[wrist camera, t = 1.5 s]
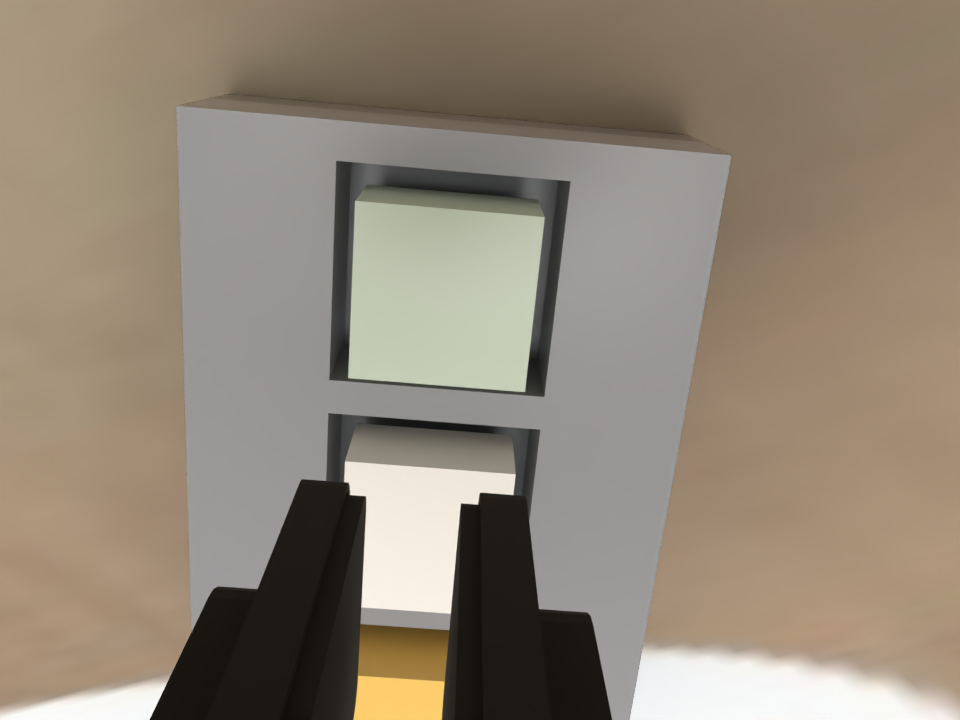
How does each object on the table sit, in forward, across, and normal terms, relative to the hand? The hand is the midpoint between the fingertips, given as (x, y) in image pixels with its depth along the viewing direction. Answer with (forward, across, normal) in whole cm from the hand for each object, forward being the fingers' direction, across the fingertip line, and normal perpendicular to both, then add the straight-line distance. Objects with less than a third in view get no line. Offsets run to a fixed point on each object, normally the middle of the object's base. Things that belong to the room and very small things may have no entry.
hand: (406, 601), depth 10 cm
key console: (+19, 0, +7) cm, 20 cm away
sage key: (+15, 0, 0) cm, 15 cm away
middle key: (+15, 0, +7) cm, 17 cm away
